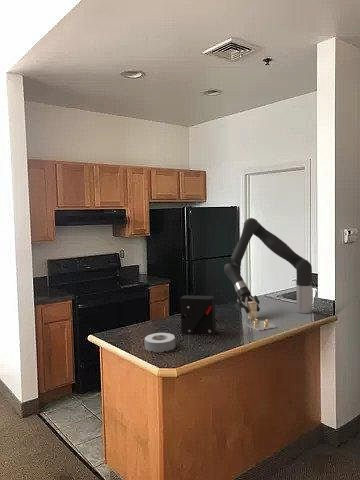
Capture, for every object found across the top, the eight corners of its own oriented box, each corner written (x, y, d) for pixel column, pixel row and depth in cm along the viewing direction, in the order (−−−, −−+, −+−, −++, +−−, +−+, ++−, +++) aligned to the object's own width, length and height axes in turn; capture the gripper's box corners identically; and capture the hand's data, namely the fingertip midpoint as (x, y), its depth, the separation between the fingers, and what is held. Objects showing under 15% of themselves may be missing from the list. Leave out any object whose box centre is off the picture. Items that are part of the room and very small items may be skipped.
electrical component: (216, 330, 224) (215, 295, 223) (212, 336, 215) (210, 299, 213) (186, 328, 230) (185, 294, 229) (181, 334, 220) (179, 298, 219)
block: (247, 318, 247) (247, 302, 246) (253, 317, 248) (252, 301, 247) (251, 319, 243) (251, 303, 242) (257, 318, 245) (256, 302, 244)
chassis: (246, 325, 231) (246, 319, 231) (263, 322, 236) (263, 316, 236) (258, 330, 220) (258, 324, 220) (276, 327, 225) (276, 321, 225)
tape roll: (178, 350, 196) (177, 340, 195) (147, 354, 193) (146, 343, 192) (172, 340, 211) (171, 331, 210) (143, 344, 208) (142, 334, 207)
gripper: (234, 287, 248) (246, 310, 238) (253, 284, 254) (265, 306, 244) (230, 294, 253) (241, 316, 243) (249, 291, 259) (260, 313, 249)
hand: (253, 311), depth 244 cm, fingers open, 7 cm apart
